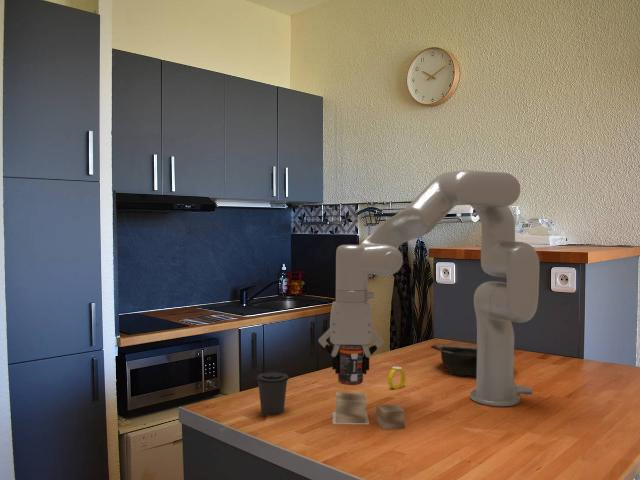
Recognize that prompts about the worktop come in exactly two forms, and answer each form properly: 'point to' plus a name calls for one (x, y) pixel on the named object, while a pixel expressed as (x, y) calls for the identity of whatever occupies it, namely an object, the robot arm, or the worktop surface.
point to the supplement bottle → (350, 364)
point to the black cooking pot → (459, 359)
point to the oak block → (390, 416)
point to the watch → (392, 376)
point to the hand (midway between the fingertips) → (350, 372)
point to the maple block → (350, 408)
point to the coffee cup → (272, 392)
